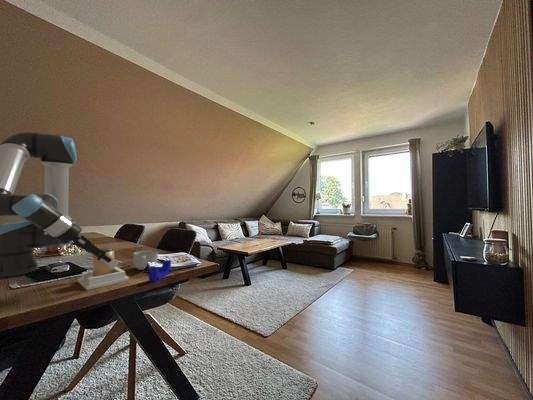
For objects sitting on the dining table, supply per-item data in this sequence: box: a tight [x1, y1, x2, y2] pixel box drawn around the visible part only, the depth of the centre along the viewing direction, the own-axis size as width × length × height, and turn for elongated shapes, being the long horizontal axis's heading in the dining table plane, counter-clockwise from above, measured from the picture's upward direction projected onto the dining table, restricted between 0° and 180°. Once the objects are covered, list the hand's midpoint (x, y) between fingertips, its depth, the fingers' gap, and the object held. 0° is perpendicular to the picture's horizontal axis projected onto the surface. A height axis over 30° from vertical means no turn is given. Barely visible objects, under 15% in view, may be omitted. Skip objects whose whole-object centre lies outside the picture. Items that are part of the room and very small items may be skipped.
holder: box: [77, 266, 130, 291], centre depth 93 cm, size 14×14×4 cm
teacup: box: [132, 250, 159, 271], centre depth 110 cm, size 14×11×8 cm
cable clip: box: [148, 259, 172, 283], centre depth 98 cm, size 12×4×6 cm, turn 176°
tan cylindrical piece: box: [92, 246, 115, 277], centre depth 93 cm, size 7×7×12 cm
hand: (110, 262), depth 95 cm, fingers open, 13 cm apart
